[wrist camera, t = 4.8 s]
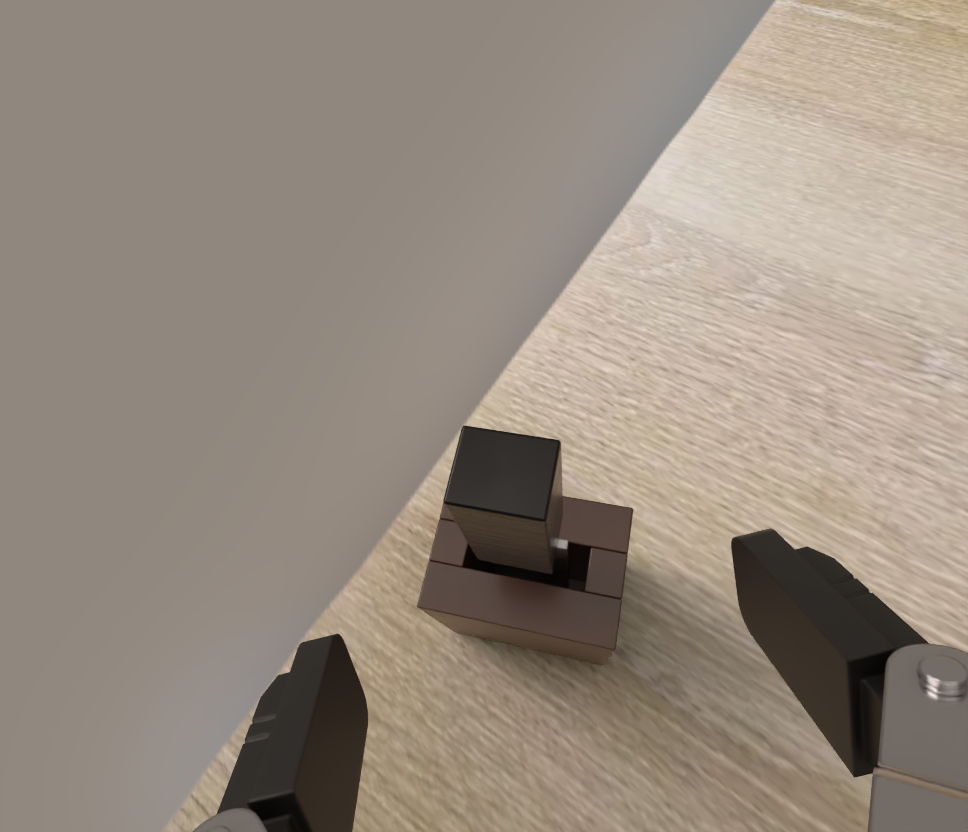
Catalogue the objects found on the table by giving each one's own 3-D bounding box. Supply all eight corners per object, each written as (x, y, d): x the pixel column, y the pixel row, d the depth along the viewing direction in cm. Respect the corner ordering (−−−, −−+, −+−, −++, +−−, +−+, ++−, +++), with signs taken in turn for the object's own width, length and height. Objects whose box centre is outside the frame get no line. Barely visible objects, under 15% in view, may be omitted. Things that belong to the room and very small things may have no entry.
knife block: (603, 665, 28) (615, 650, 21) (454, 632, 29) (416, 607, 22) (617, 556, 30) (633, 507, 23) (477, 529, 31) (449, 476, 24)
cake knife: (564, 619, 28) (560, 524, 13) (499, 605, 28) (429, 500, 14) (571, 574, 29) (574, 441, 14) (508, 562, 29) (450, 422, 15)
